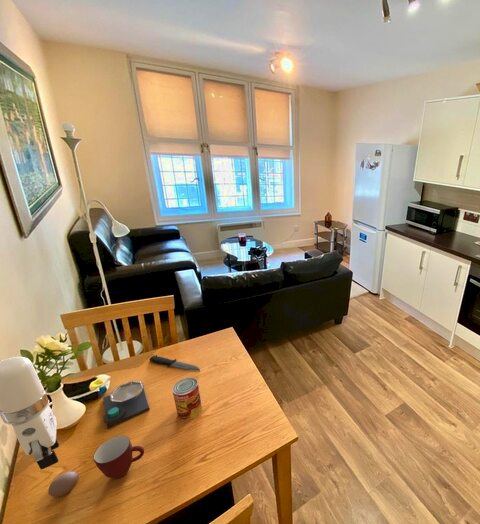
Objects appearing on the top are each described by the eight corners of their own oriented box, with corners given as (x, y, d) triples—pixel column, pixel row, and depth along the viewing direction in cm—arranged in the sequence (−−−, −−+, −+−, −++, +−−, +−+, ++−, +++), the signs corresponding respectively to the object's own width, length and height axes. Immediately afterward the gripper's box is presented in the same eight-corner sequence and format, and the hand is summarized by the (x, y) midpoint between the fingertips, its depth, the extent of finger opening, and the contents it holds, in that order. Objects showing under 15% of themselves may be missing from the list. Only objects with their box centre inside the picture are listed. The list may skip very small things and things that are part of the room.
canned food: (172, 414, 103) (166, 389, 98) (192, 398, 109) (187, 374, 105) (188, 423, 100) (182, 398, 95) (207, 406, 106) (202, 382, 102)
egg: (46, 504, 76) (41, 495, 74) (57, 481, 81) (52, 472, 79) (75, 495, 78) (70, 486, 77) (84, 473, 83) (80, 464, 82)
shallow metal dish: (112, 408, 100) (111, 406, 99) (109, 391, 106) (109, 389, 106) (144, 395, 106) (144, 392, 105) (140, 379, 112) (140, 377, 112)
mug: (146, 448, 91) (139, 426, 87) (148, 470, 85) (141, 447, 81) (103, 467, 85) (94, 444, 81) (102, 492, 79) (92, 469, 75)
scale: (106, 430, 96) (104, 424, 94) (102, 400, 106) (100, 394, 105) (150, 410, 103) (148, 404, 102) (143, 384, 114) (141, 379, 113)
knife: (205, 364, 124) (197, 373, 119) (205, 367, 124) (197, 375, 120) (155, 353, 128) (146, 360, 124) (156, 356, 129) (147, 363, 124)
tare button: (109, 419, 97) (108, 415, 96) (108, 413, 98) (107, 410, 98) (119, 415, 98) (118, 411, 98) (119, 409, 100) (117, 405, 100)
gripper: (45, 422, 64) (70, 474, 71) (49, 377, 76) (70, 426, 83) (-6, 442, 60) (26, 495, 67) (6, 391, 71) (32, 441, 78)
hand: (50, 456), depth 75 cm, fingers open, 4 cm apart
